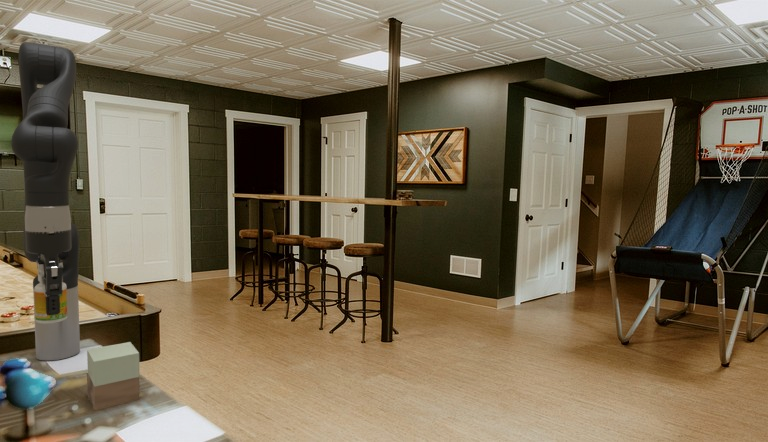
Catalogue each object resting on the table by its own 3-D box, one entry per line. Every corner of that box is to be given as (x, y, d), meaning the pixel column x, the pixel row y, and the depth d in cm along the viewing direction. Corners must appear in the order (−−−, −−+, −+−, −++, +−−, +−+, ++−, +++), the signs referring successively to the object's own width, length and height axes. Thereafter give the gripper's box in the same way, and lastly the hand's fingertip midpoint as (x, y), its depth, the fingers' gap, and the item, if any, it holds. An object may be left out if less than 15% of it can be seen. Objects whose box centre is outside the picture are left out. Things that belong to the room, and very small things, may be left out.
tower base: (87, 396, 100) (86, 373, 99) (129, 386, 105) (129, 364, 104) (95, 411, 94) (94, 386, 93) (139, 399, 99) (139, 376, 98)
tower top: (87, 372, 99) (87, 349, 99) (130, 364, 105) (130, 341, 104) (94, 386, 93) (93, 361, 93) (139, 376, 98) (139, 353, 98)
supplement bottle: (51, 325, 95) (49, 277, 94) (28, 322, 96) (26, 274, 95) (73, 317, 100) (72, 271, 99) (52, 314, 101) (50, 269, 100)
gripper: (21, 224, 99) (24, 305, 100) (29, 233, 88) (32, 323, 90) (65, 223, 104) (67, 299, 105) (77, 231, 93) (79, 316, 95)
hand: (51, 310), depth 97 cm, fingers closed on supplement bottle, 5 cm apart
